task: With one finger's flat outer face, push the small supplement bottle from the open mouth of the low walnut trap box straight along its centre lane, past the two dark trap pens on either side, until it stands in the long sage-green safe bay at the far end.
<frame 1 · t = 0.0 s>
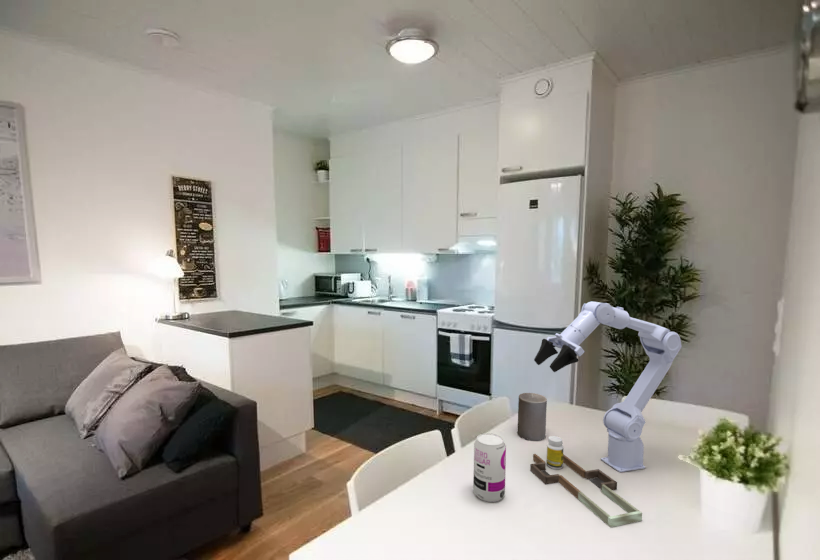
hand: (543, 365, 115), 32 cm above the table, tool tilted 50°, fingers open, 7 cm apart
supplement bottle: (554, 466, 123), on the table
supplement can: (488, 495, 108), on the table
pillar candle: (531, 435, 144), on the table
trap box: (568, 476, 116), on the table
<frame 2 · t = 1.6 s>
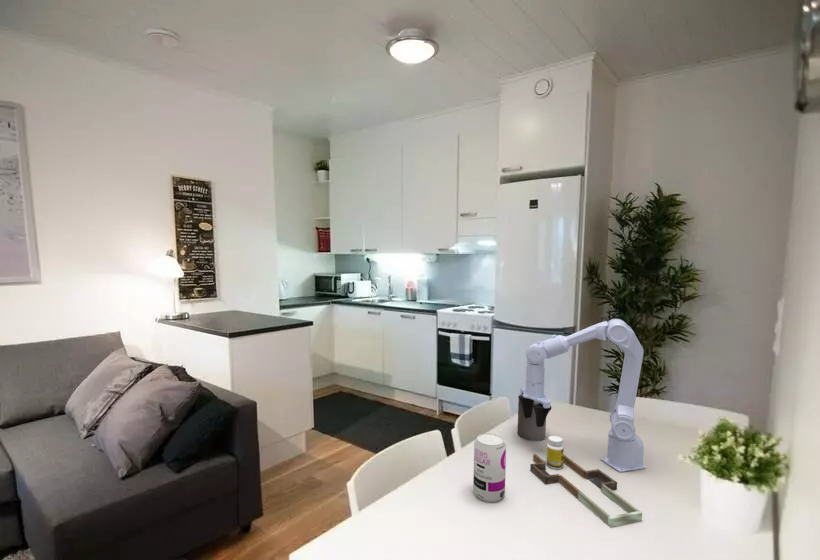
hand: (533, 421, 133), 9 cm above the table, tool pointing down, fingers open, 7 cm apart
pillar candle: (531, 435, 144), on the table, touching gripper
everything else where it was.
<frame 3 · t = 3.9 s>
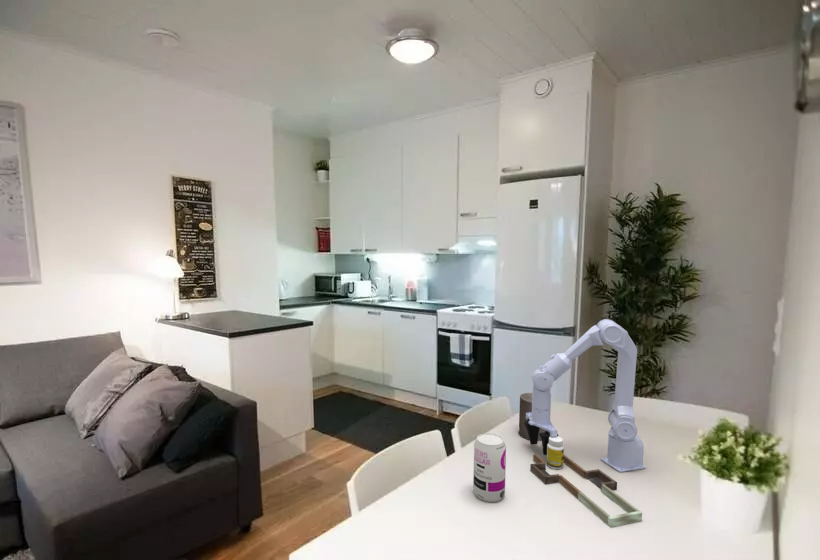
hand: (540, 449, 130), 2 cm above the table, tool pointing down, fingers open, 7 cm apart
supplement bottle: (554, 466, 123), on the table, touching gripper
pillar candle: (532, 435, 144), on the table
everything else where it was.
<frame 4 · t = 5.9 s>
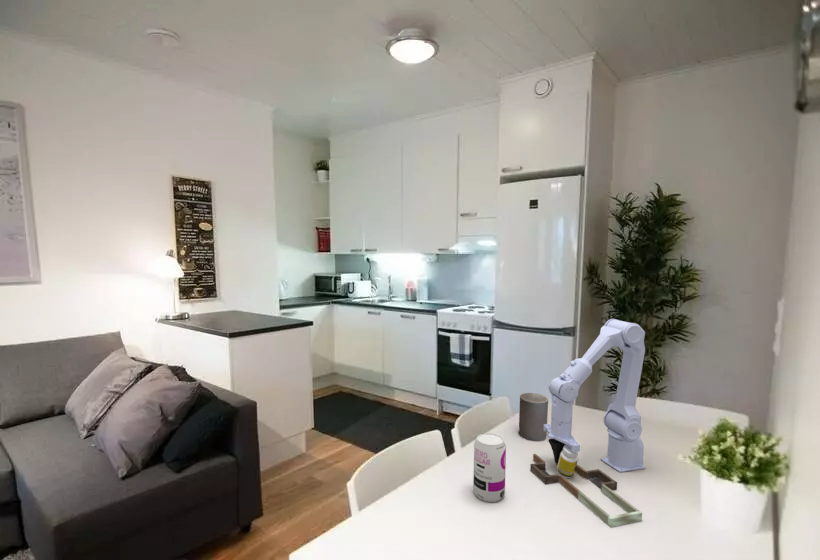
hand: (559, 464, 120), 2 cm above the table, tool pointing down, fingers closed, pressing on supplement bottle
supplement bottle: (564, 472, 118), on the table, touching gripper
everything else where it was.
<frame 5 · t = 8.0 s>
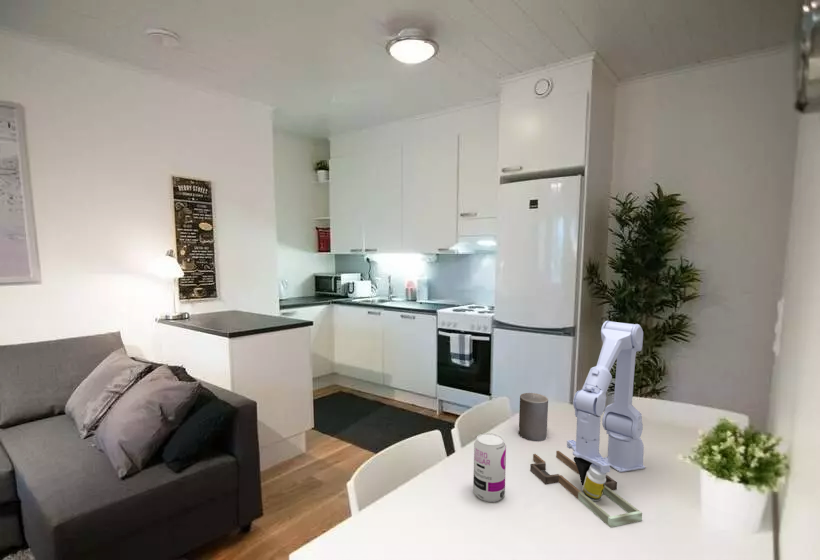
hand: (585, 485, 109), 2 cm above the table, tool pointing down, fingers closed, pressing on supplement bottle
supplement bottle: (591, 494, 107), on the table, touching gripper
everything else where it was.
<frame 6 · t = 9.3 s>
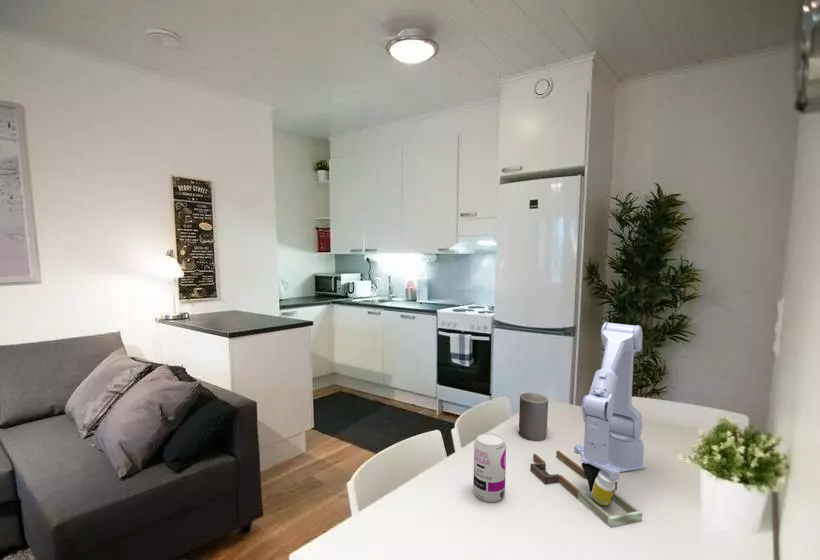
hand: (594, 491, 106), 2 cm above the table, tool pointing down, fingers closed, pressing on supplement bottle
supplement bottle: (599, 501, 104), on the table, touching gripper
everything else where it was.
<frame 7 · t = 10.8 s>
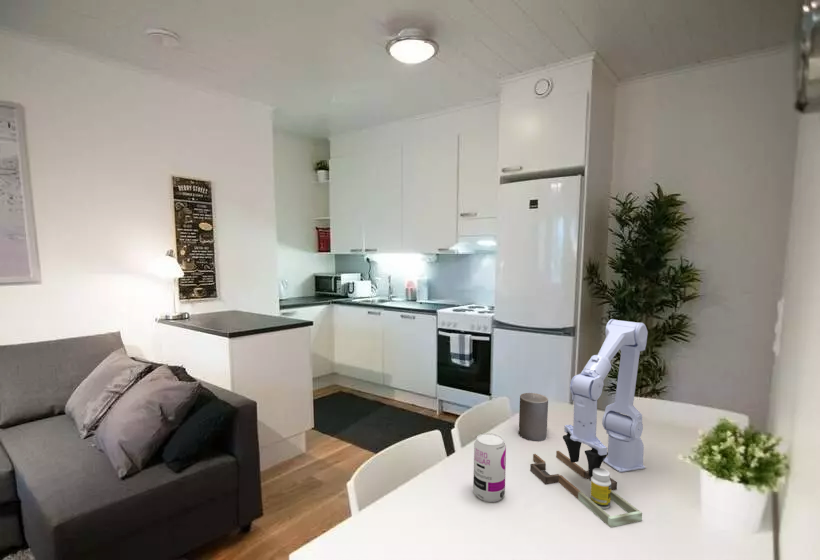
hand: (583, 468, 110), 6 cm above the table, tool pointing down, fingers open, 7 cm apart
supplement bottle: (600, 504, 104), on the table, touching gripper
everything else where it was.
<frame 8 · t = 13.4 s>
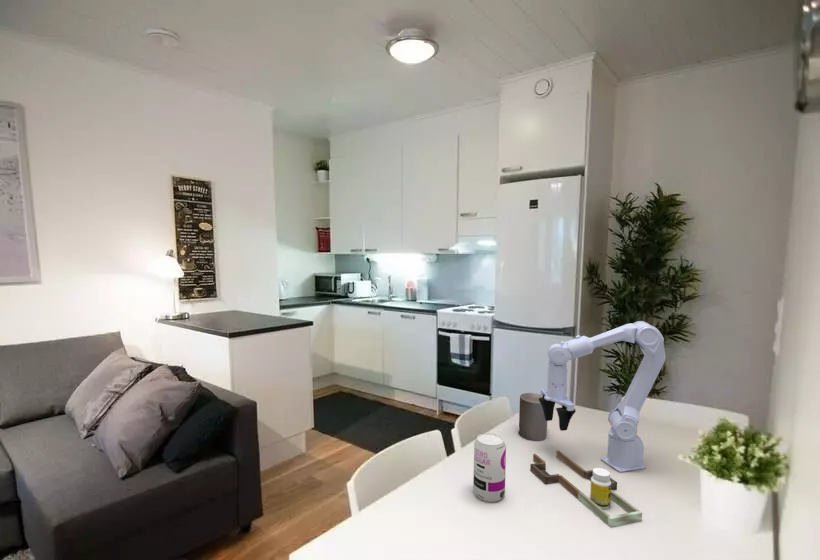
hand: (555, 425, 129), 10 cm above the table, tool pointing down, fingers open, 7 cm apart
supplement bottle: (600, 504, 104), on the table
everything else where it was.
at the end: supplement bottle inside the target area (2.8 cm from its centre), on the table; supplement bottle tilted 1° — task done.
